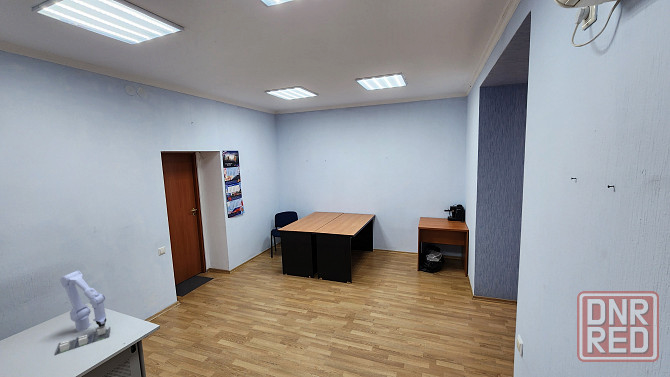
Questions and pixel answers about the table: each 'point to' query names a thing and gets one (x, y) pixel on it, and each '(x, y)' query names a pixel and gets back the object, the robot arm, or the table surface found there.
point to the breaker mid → (83, 340)
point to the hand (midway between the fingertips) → (102, 328)
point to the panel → (91, 339)
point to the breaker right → (64, 346)
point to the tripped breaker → (101, 330)
